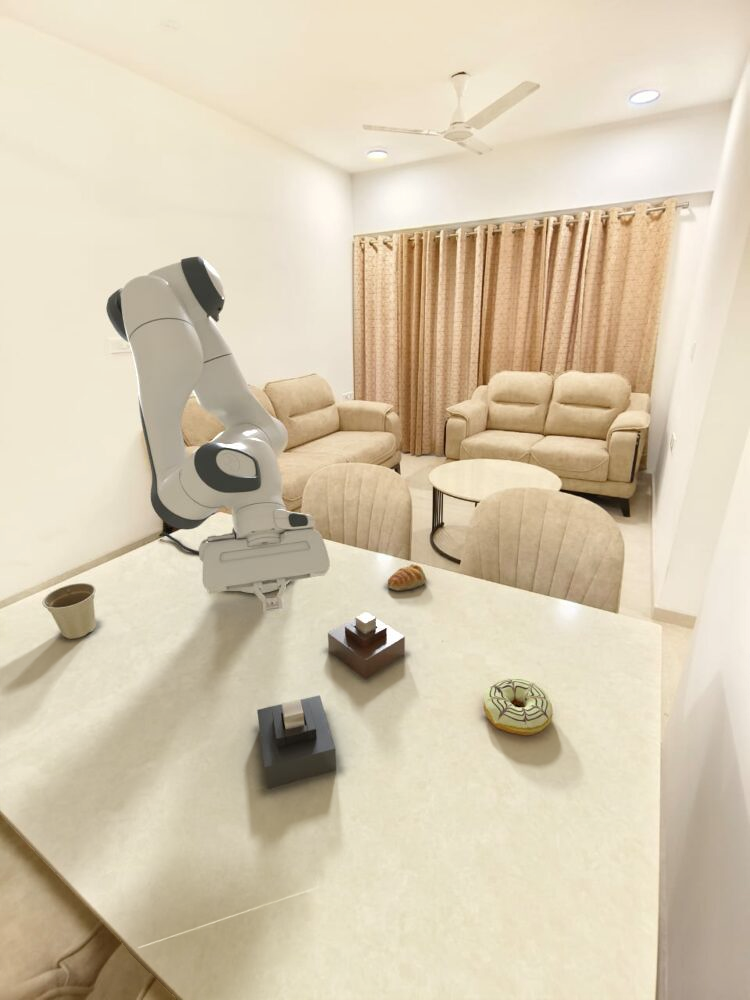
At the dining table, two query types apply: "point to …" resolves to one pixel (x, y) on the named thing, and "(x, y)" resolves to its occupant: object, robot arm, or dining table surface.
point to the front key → (293, 714)
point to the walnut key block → (366, 647)
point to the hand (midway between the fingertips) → (272, 610)
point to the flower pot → (72, 609)
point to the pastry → (407, 578)
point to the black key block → (296, 744)
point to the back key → (365, 623)
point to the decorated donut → (514, 719)
